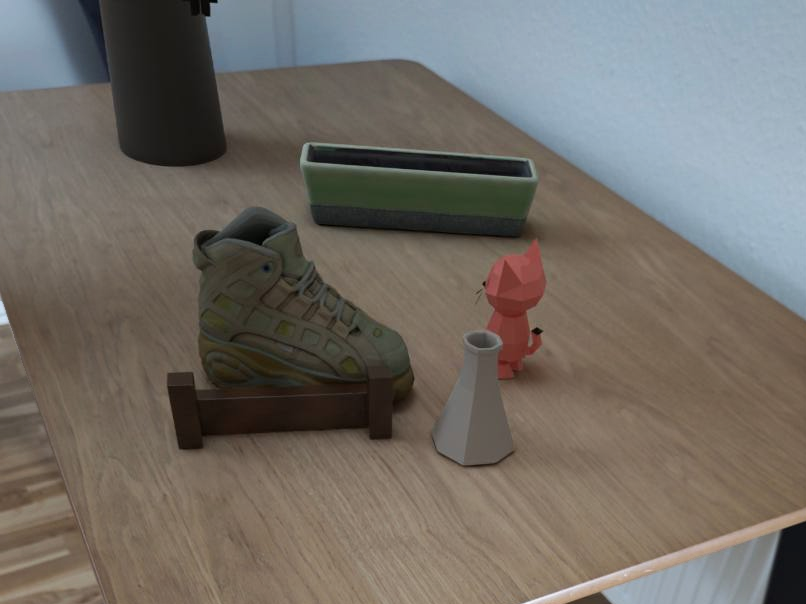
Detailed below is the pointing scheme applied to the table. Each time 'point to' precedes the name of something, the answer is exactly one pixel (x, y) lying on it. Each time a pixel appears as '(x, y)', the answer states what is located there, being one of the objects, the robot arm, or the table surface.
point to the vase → (162, 82)
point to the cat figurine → (515, 306)
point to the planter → (417, 189)
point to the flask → (475, 407)
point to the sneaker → (282, 314)
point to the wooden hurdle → (280, 407)
